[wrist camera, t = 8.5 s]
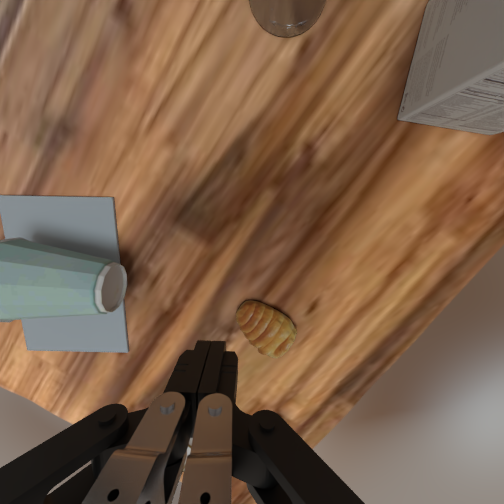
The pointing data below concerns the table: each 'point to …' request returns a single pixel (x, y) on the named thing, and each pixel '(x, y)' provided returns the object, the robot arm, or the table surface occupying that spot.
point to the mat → (78, 240)
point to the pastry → (266, 328)
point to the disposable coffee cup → (56, 282)
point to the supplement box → (458, 67)
